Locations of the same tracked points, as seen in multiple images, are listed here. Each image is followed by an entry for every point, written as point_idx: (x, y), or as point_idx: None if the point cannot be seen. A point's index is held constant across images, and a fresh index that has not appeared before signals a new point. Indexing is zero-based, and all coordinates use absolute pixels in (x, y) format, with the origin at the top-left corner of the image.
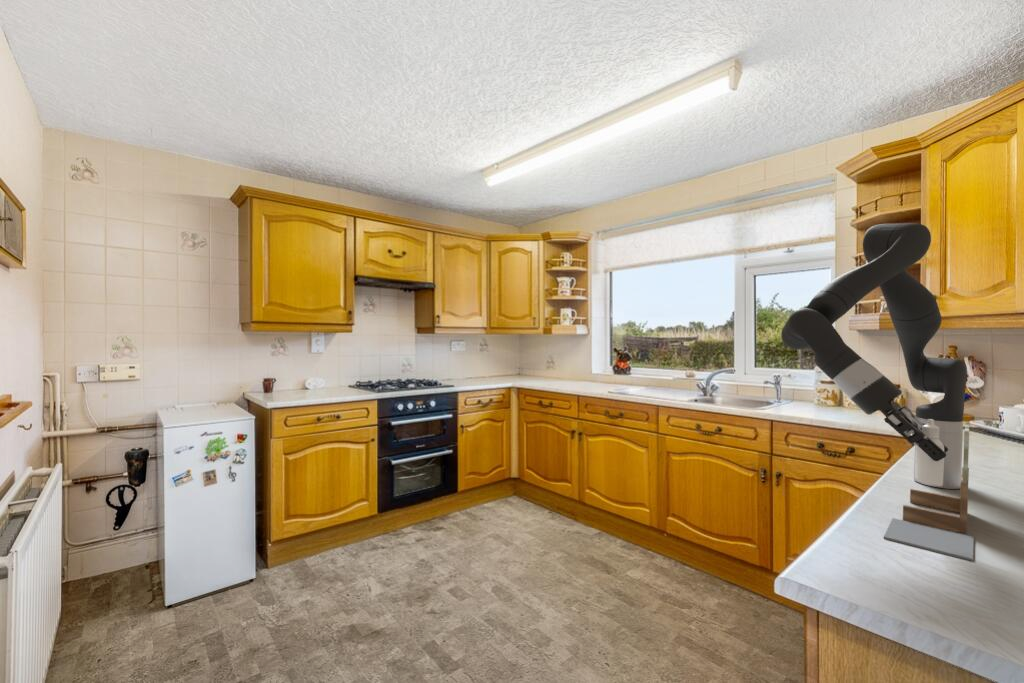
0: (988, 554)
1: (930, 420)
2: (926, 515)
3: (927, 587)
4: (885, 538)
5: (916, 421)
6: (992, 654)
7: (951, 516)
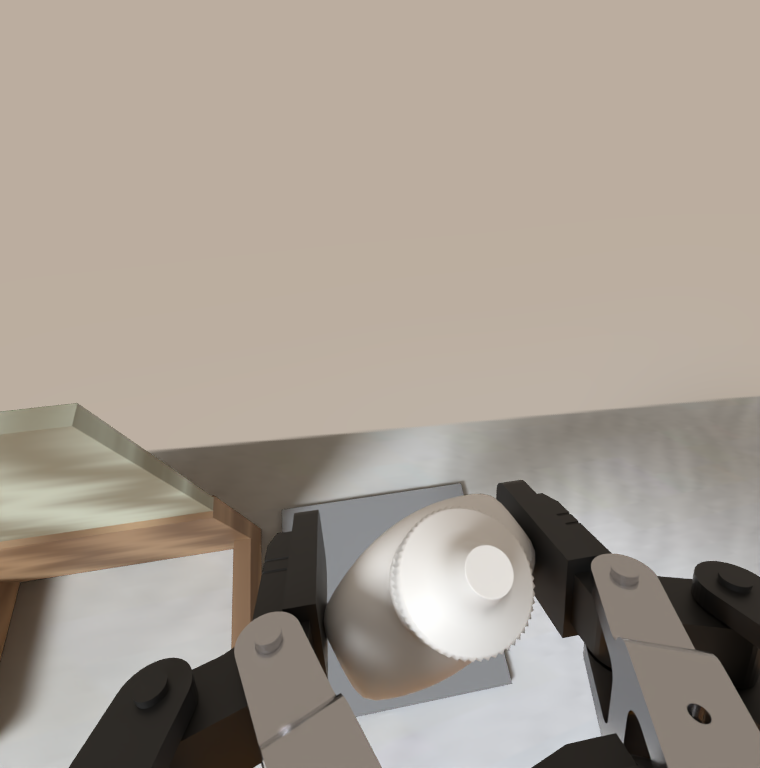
0: (379, 470)
1: (508, 571)
2: None
3: (698, 517)
4: (509, 677)
5: (671, 704)
6: None
7: (250, 558)
